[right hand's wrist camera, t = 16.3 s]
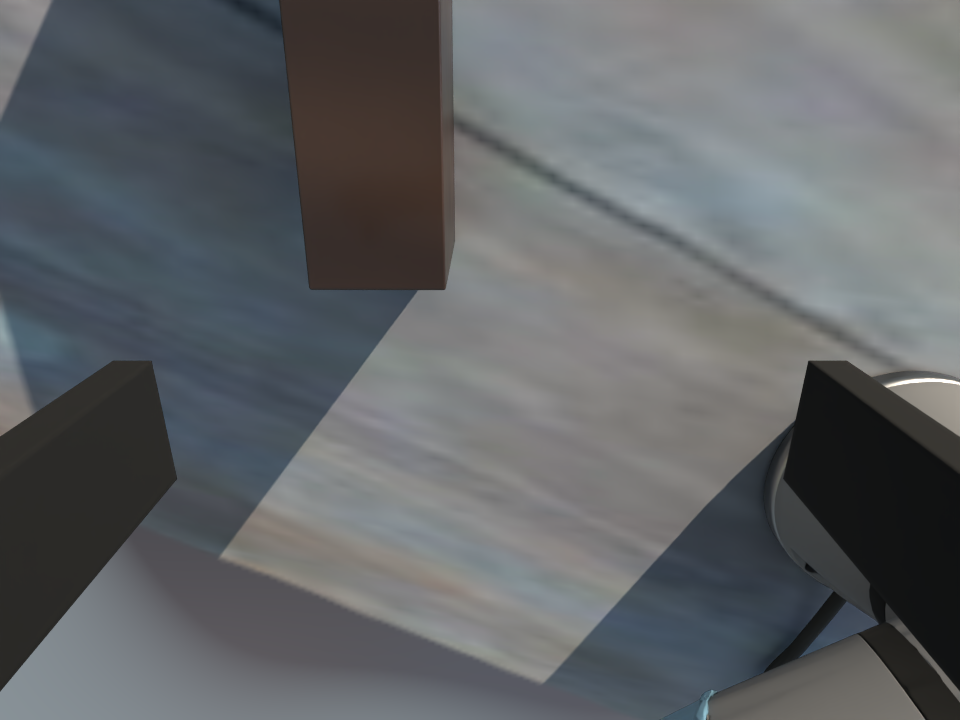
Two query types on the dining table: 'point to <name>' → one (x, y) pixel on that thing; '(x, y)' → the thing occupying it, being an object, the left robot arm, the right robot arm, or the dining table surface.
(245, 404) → the dining table surface
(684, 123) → the dining table surface
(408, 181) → the walnut box
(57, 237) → the dining table surface
